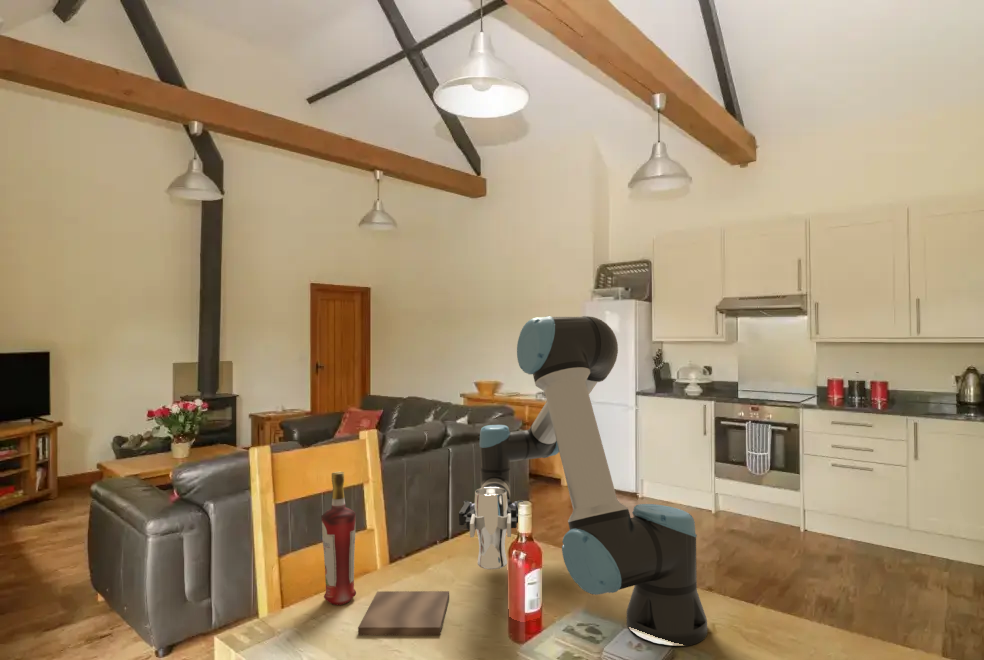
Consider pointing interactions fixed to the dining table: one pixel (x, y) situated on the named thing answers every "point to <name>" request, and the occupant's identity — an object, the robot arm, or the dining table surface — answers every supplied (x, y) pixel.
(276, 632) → the dining table surface
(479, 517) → the silver metal tumbler
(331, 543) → the liquor
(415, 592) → the walnut board
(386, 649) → the dining table surface
